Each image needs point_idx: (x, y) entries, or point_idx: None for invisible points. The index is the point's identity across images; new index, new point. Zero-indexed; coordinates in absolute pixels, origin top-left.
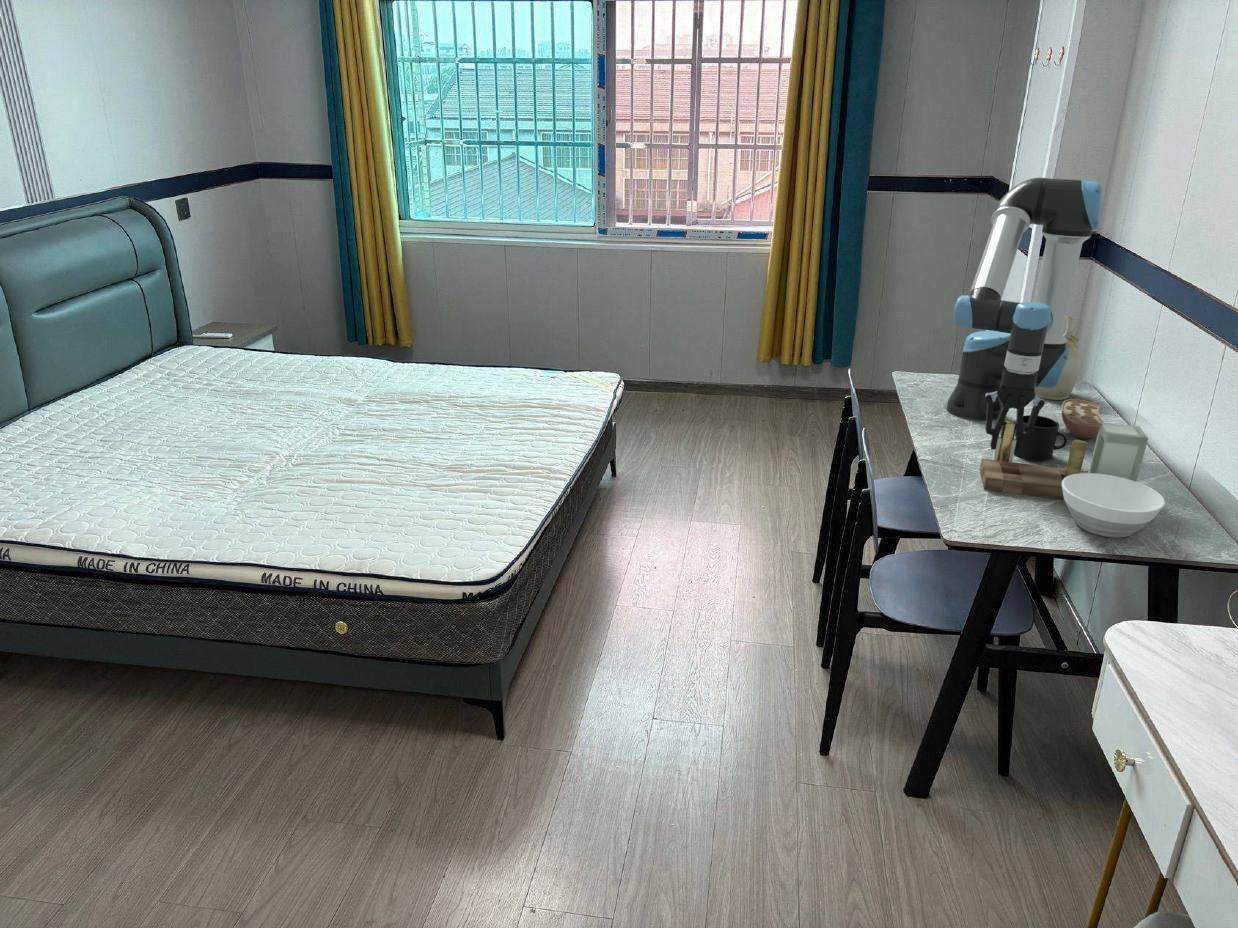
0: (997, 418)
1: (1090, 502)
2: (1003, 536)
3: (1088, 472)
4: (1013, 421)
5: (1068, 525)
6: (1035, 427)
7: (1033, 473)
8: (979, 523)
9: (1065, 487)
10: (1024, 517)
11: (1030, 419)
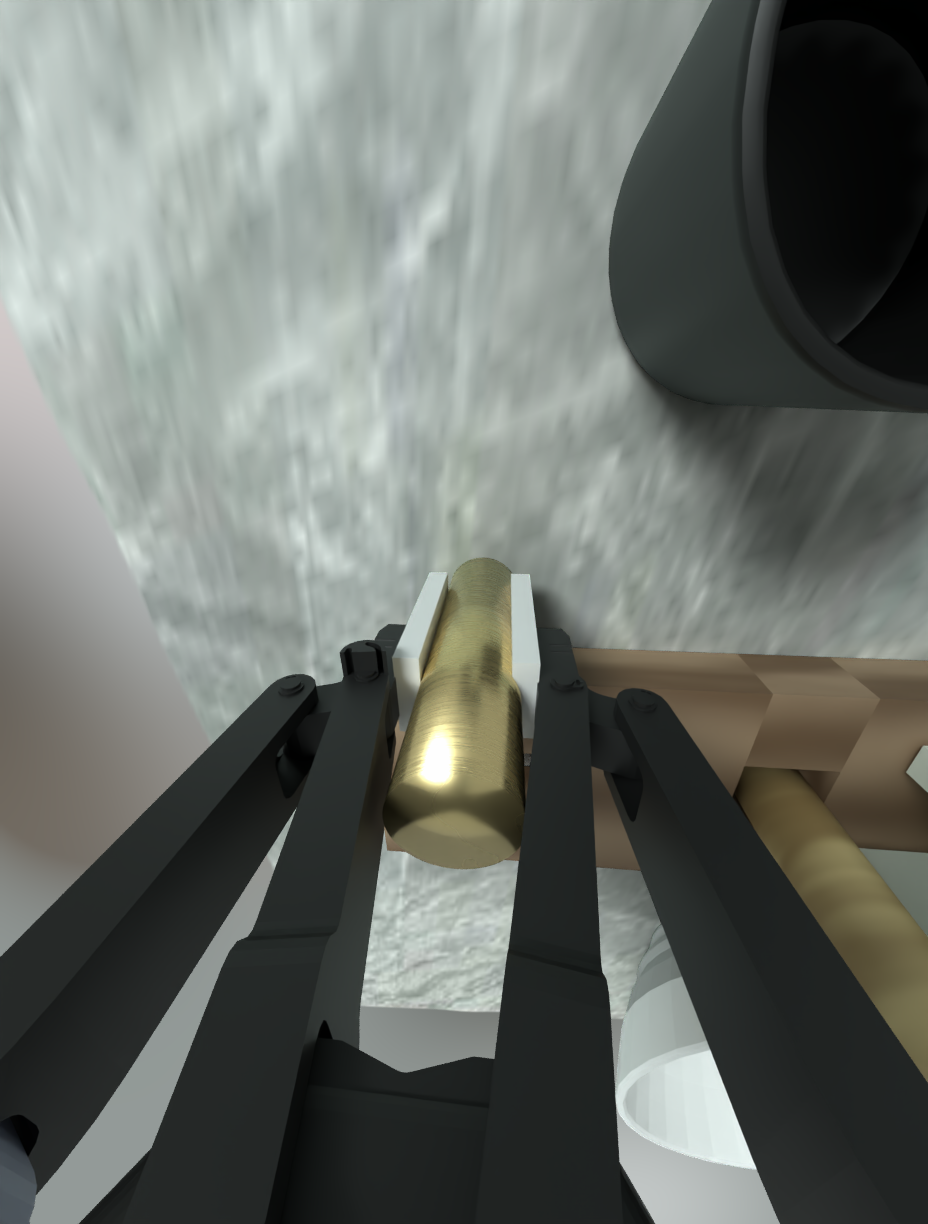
0: (307, 782)
1: (667, 1146)
2: (442, 992)
3: (925, 755)
4: (490, 803)
5: (623, 946)
6: (868, 401)
7: (599, 785)
8: (389, 958)
9: (622, 1102)
10: (508, 927)
11: (678, 939)
